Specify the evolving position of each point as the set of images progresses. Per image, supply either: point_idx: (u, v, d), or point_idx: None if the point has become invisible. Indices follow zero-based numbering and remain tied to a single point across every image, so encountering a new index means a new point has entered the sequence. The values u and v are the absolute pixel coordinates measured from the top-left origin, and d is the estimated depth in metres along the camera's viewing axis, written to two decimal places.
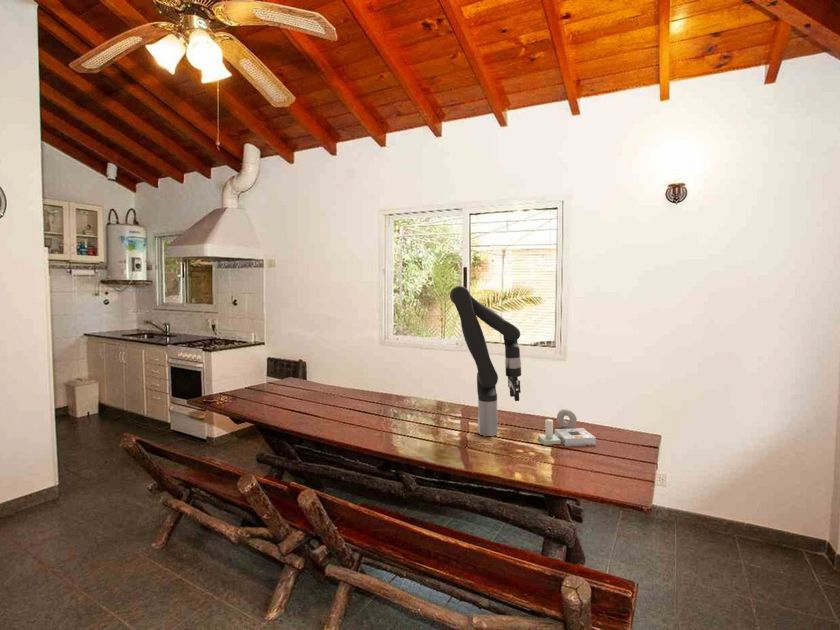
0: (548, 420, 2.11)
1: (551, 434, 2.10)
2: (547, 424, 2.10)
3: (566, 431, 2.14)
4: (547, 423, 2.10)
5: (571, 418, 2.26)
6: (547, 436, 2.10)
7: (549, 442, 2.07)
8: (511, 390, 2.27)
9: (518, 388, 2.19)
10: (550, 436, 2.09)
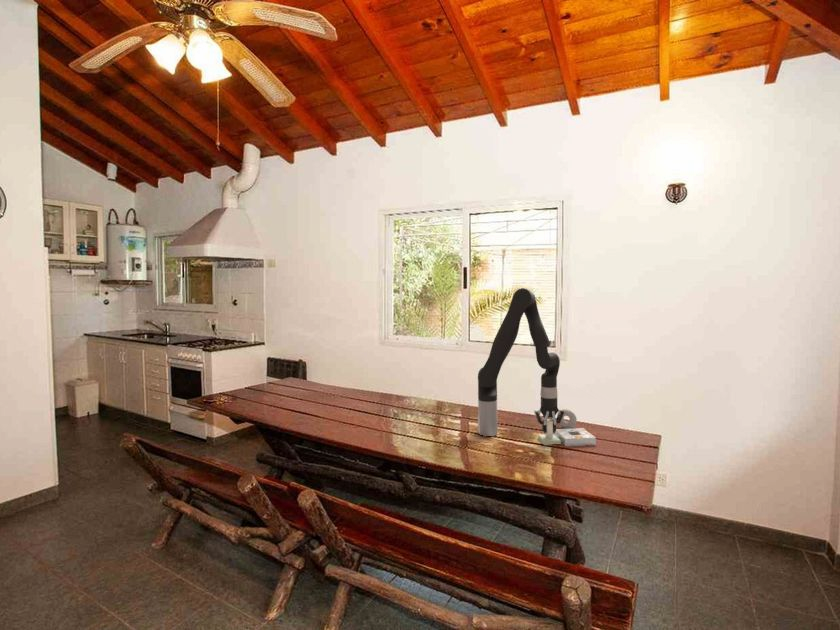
0: (548, 420, 2.11)
1: (551, 434, 2.10)
2: (547, 424, 2.10)
3: (566, 431, 2.14)
4: (547, 423, 2.10)
5: (571, 418, 2.26)
6: (547, 436, 2.10)
7: (549, 442, 2.07)
8: None
9: None
10: (550, 436, 2.09)
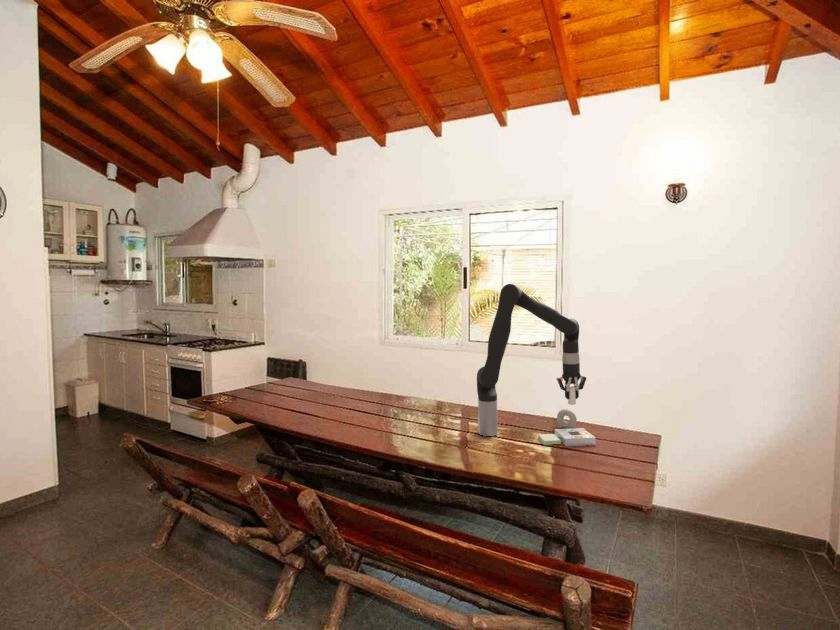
0: (570, 386, 2.10)
1: (574, 400, 2.09)
2: (570, 390, 2.09)
3: (566, 431, 2.14)
4: (570, 389, 2.09)
5: (571, 418, 2.26)
6: (570, 402, 2.09)
7: (549, 442, 2.07)
8: None
9: None
10: (573, 402, 2.09)
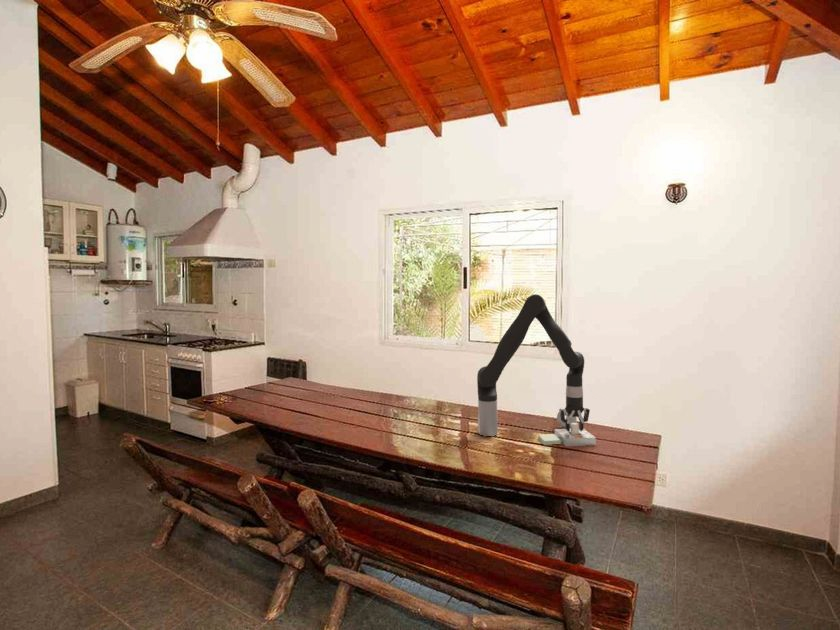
0: (574, 423, 2.11)
1: None
2: (573, 427, 2.10)
3: (566, 431, 2.14)
4: (573, 426, 2.10)
5: None
6: None
7: (549, 442, 2.07)
8: None
9: None
10: None
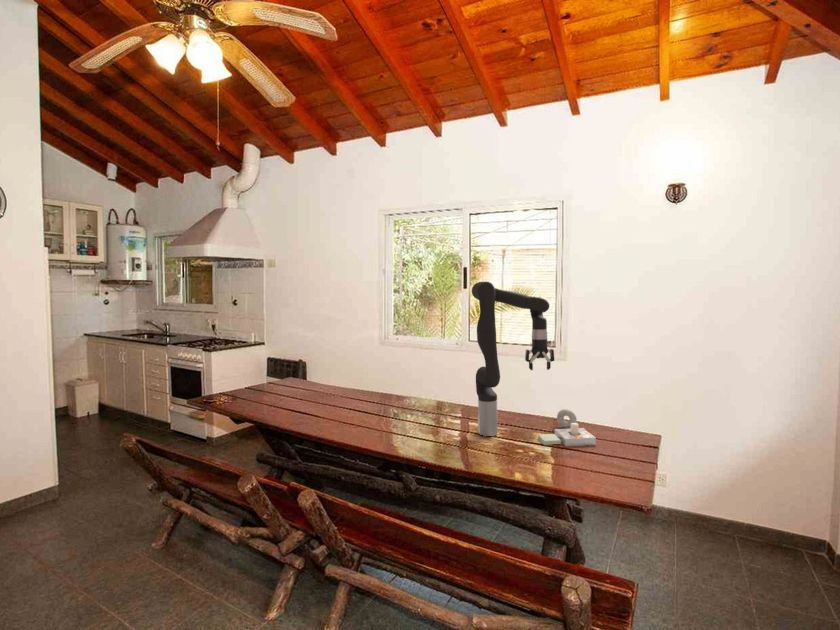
0: (573, 423, 2.11)
1: None
2: (573, 427, 2.10)
3: (566, 431, 2.14)
4: (573, 426, 2.10)
5: (571, 418, 2.26)
6: None
7: (549, 442, 2.07)
8: None
9: None
10: None
